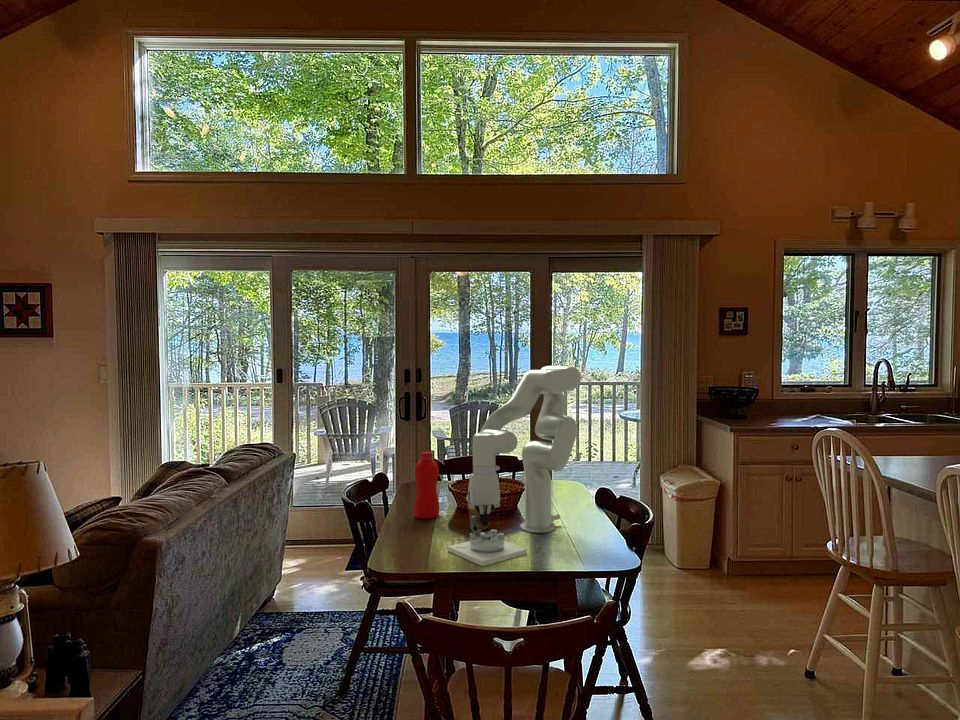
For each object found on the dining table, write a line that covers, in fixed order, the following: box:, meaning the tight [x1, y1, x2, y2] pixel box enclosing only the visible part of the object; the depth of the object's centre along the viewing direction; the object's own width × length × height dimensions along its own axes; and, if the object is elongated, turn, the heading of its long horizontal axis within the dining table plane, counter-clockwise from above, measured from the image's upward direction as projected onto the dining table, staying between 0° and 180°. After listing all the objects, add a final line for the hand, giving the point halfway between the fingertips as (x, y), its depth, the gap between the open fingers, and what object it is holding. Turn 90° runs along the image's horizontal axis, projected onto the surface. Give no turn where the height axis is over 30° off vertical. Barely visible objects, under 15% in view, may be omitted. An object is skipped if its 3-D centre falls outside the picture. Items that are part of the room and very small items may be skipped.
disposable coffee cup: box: [465, 494, 489, 531], centre depth 231 cm, size 10×10×12 cm
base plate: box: [447, 540, 528, 567], centre depth 204 cm, size 18×18×2 cm
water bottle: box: [414, 451, 440, 520], centre depth 246 cm, size 9×11×25 cm
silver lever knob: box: [469, 516, 505, 553], centre depth 205 cm, size 15×11×8 cm
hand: (484, 525), depth 211 cm, fingers closed
